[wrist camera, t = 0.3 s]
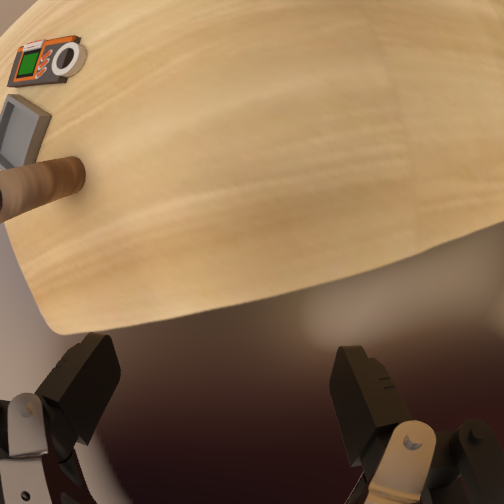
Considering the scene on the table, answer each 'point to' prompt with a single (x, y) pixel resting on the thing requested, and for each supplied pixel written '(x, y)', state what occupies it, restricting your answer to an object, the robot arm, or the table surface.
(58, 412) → the robot arm
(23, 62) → the electronic device
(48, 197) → the pepper mill
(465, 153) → the table surface
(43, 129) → the tray
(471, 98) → the table surface
